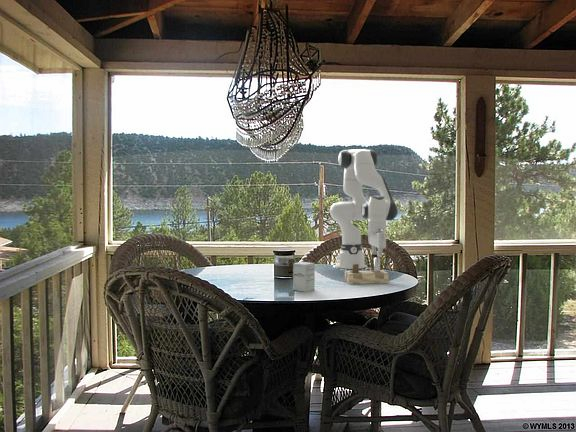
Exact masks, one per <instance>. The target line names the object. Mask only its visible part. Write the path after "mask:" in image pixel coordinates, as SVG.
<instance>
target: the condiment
mask: <svg viewBox="0 0 576 432" xmlns="http://www.w3.org/2000/svg"><path fill="white" fill-rule="evenodd" d="M374 258H380V270H383V256H382V257H378V256H377V253H376V254H371V258H370V271H374Z"/></svg>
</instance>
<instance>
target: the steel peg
mask: <svg viewBox="0 0 576 432" xmlns="http://www.w3.org/2000/svg"><path fill="white" fill-rule="evenodd" d="M379 272H380V258H374V273H379Z"/></svg>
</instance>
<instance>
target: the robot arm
mask: <svg viewBox="0 0 576 432" xmlns="http://www.w3.org/2000/svg"><path fill="white" fill-rule="evenodd" d="M337 162H338V164H339V166H340V168H342V169H344V170H343V186H342V191H343V193H344V195H347V196H349V197H350V198H352V201H338V202H334V203H332V205H330V208H329V215H330V216H331V219H333V220H334V221H335V222H336V223H337V224H338V226H339V227H340V230H341V231H340V232H341V246H340V253H339V255H337V256H336V260H337V262H336V263H335V269H342V270H343V269H345V270H353V264H359V269H364V268H365V269H366V268H368V265H366V263H365V253H364V251H362V249H363V248H362V247H363V245H362V231H361V230H360V229H359V228H358V227H357V226H355V225H353V224H352V221H367V220H368V225H367V226H366V231H367V241H368V245H370V246H371V251H372V252H371V253H372V254H377V256H378V257H382V258H383V255H382V254H383V252H384V251H383V250H384V249H386V248H387V236H386V233H385V232H387V221H389V222H391V221H393V220H395V218H397V216H398V207H397V204H396V202H395V201H394V199H393V196H392V194H391V192H390V189H389V187H388V185H387V182H386V180H385V178H384V176H382V175H380V174H379V173H378V171H377V169H376V166H377V163H378V153H377V152H376V150H373V149H369V148H368V149H366V148H357V149H354V148H353V149H343V150H341V151H339V154H338V158H337ZM363 186H366V187H370V188H372V189H375V190H377V191H378V193H379V194H375V195H371V196H370V197H369V199H368V200H367V199H366V197H365V195H364V191H363V189H364V188H363ZM372 254H371V255H372Z"/></svg>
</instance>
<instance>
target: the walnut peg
mask: <svg viewBox="0 0 576 432" xmlns="http://www.w3.org/2000/svg"><path fill="white" fill-rule="evenodd" d="M352 271H353V273H359V271H360V270H359V264H353V269H352Z"/></svg>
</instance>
